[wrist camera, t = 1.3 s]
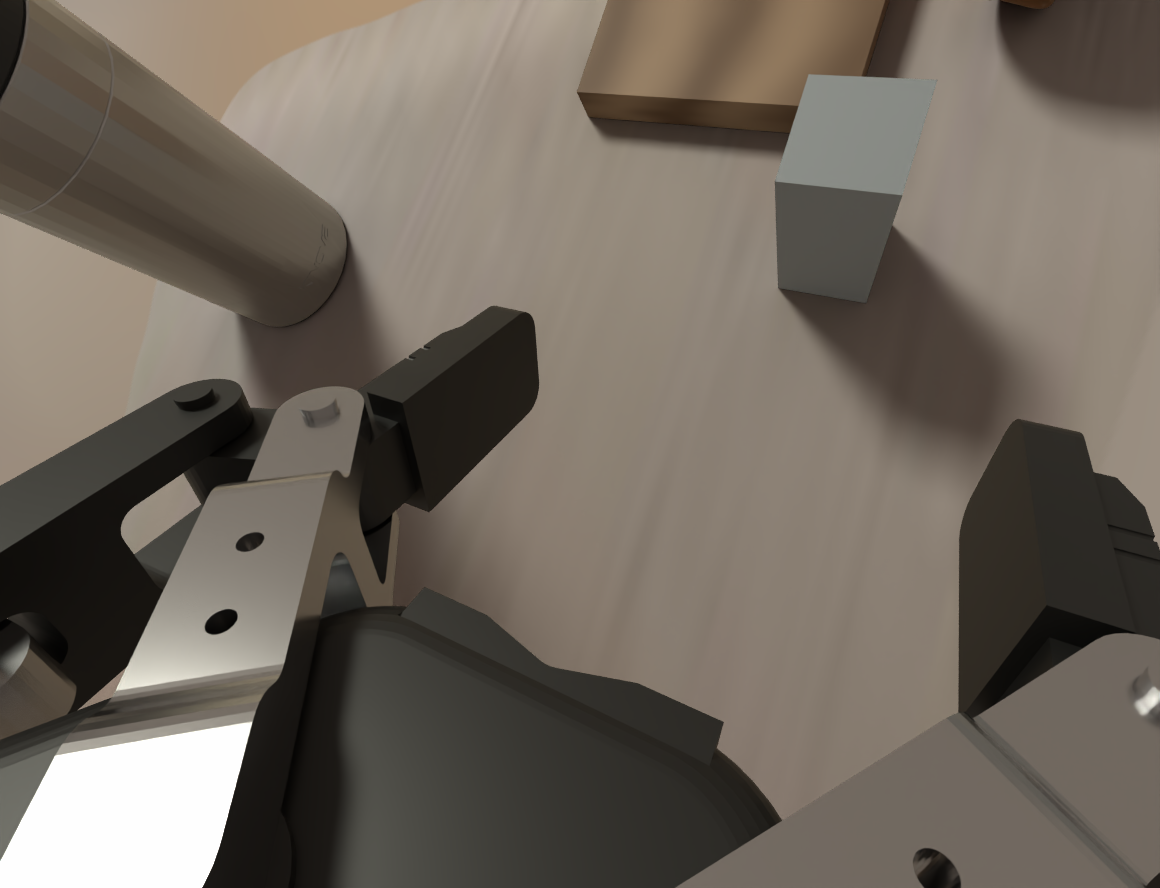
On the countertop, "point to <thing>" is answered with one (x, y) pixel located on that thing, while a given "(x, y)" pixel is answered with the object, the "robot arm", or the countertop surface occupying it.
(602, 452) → the countertop surface
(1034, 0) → the tin
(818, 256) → the slate block
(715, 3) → the walnut board
